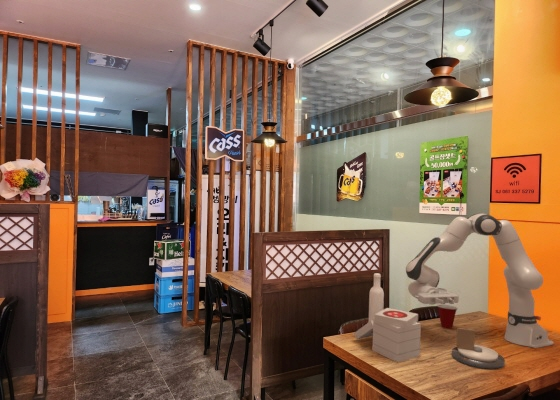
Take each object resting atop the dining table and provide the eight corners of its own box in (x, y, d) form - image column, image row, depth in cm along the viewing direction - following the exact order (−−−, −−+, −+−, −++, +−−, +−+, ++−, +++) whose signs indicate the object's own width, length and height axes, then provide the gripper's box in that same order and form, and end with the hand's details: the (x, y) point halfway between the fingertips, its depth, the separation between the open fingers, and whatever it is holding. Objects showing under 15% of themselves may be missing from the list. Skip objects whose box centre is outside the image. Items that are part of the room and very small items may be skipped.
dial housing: (479, 348, 184) (479, 344, 184) (516, 367, 163) (516, 362, 163) (441, 351, 179) (442, 346, 179) (474, 371, 158) (474, 366, 158)
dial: (494, 350, 176) (495, 328, 176) (500, 364, 161) (501, 339, 161) (455, 345, 182) (456, 323, 182) (457, 357, 167) (458, 333, 167)
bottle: (366, 325, 213) (367, 272, 214) (380, 325, 214) (381, 272, 214) (371, 330, 205) (372, 275, 206) (385, 330, 206) (386, 275, 206)
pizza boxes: (377, 335, 198) (378, 301, 198) (426, 357, 172) (427, 317, 172) (349, 342, 188) (350, 305, 188) (397, 365, 162) (398, 323, 162)
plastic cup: (458, 326, 217) (459, 305, 217) (455, 331, 208) (456, 309, 208) (438, 322, 223) (438, 302, 223) (434, 327, 214) (435, 306, 214)
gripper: (412, 289, 195) (429, 296, 181) (447, 288, 200) (466, 295, 186) (412, 302, 195) (429, 309, 181) (447, 300, 200) (465, 308, 186)
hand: (448, 302), depth 184 cm, fingers open, 3 cm apart
